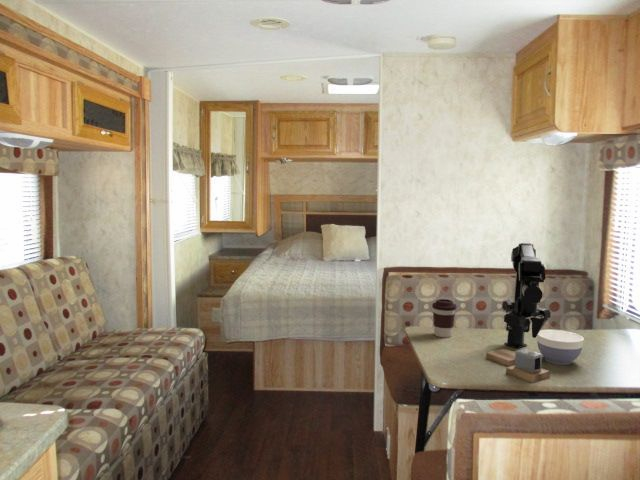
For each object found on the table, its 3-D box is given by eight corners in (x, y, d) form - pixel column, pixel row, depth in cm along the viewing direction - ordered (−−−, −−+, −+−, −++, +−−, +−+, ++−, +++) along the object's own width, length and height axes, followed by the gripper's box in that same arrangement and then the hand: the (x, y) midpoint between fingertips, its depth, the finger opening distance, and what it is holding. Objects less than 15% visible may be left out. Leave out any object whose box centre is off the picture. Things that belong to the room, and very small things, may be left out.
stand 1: (503, 353, 212) (503, 348, 212) (526, 361, 204) (526, 355, 204) (486, 358, 207) (486, 352, 206) (508, 366, 198) (509, 360, 198)
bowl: (558, 351, 216) (560, 327, 214) (592, 365, 201) (594, 339, 200) (526, 356, 210) (527, 331, 209) (557, 370, 195) (559, 344, 194)
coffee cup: (455, 339, 229) (457, 304, 227) (431, 337, 231) (432, 302, 229) (454, 332, 239) (456, 298, 237) (431, 331, 241) (432, 297, 239)
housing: (523, 364, 194) (524, 348, 193) (541, 371, 188) (542, 353, 188) (514, 367, 191) (515, 350, 190) (532, 373, 185) (533, 356, 185)
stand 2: (523, 367, 197) (524, 362, 197) (549, 376, 189) (549, 371, 188) (506, 373, 191) (506, 367, 191) (531, 382, 183) (531, 376, 183)
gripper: (525, 288, 201) (522, 329, 203) (492, 294, 191) (489, 338, 193) (553, 294, 192) (549, 337, 194) (519, 301, 182) (516, 347, 184)
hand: (525, 339), depth 192 cm, fingers open, 9 cm apart
